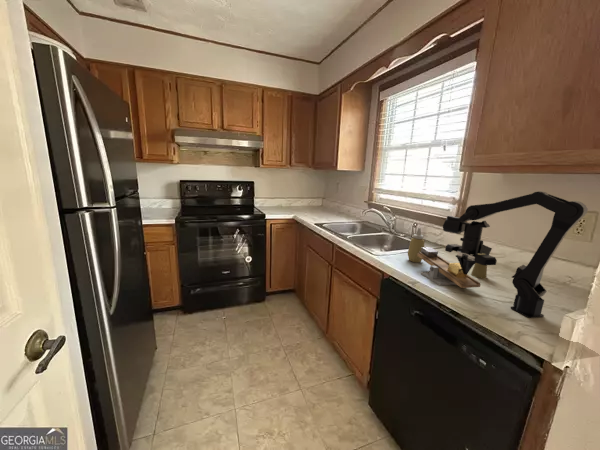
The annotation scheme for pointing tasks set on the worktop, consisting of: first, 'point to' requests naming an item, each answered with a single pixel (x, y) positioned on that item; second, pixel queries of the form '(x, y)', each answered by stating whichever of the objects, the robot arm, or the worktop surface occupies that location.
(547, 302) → the worktop surface
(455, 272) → the block
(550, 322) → the worktop surface
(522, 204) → the robot arm
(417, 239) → the squeeze bottle
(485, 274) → the cork
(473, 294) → the worktop surface
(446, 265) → the balance beam
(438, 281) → the pivot stand
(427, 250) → the counterweight
